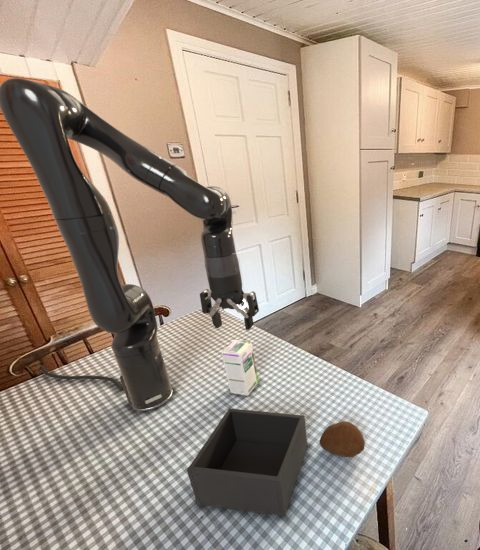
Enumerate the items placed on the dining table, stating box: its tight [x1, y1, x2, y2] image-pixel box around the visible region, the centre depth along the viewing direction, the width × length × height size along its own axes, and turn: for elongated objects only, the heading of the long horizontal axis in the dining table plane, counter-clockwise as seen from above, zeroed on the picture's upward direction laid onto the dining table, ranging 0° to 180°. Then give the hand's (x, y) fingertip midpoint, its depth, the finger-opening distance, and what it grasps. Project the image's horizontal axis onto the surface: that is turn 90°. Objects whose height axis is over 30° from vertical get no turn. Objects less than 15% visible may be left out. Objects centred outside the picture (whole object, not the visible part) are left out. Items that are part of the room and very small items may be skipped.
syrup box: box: [221, 339, 260, 396], centre depth 85 cm, size 6×6×14 cm
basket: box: [186, 407, 308, 517], centre depth 63 cm, size 18×15×10 cm
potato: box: [319, 420, 366, 459], centre depth 69 cm, size 7×10×7 cm
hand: (233, 327), depth 81 cm, fingers open, 8 cm apart
